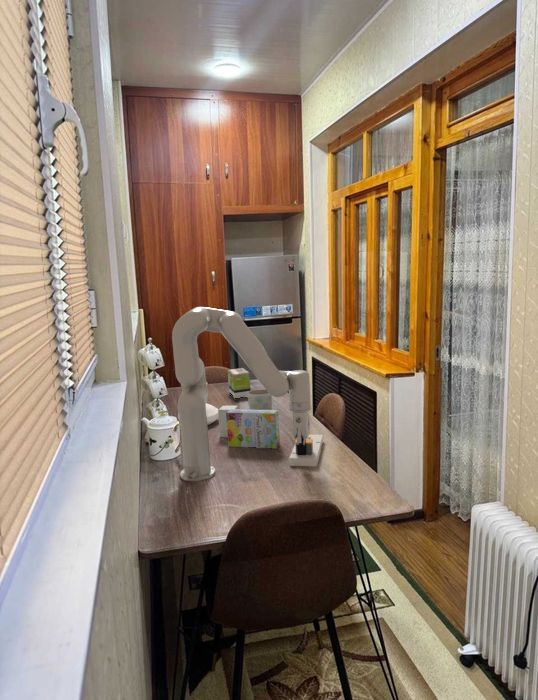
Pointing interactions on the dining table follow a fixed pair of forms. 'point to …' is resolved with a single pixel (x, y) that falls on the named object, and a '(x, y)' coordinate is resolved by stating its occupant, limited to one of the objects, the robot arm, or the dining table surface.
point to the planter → (259, 399)
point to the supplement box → (224, 419)
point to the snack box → (253, 428)
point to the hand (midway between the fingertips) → (302, 454)
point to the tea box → (239, 382)
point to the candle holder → (210, 413)
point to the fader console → (308, 458)
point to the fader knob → (309, 446)
